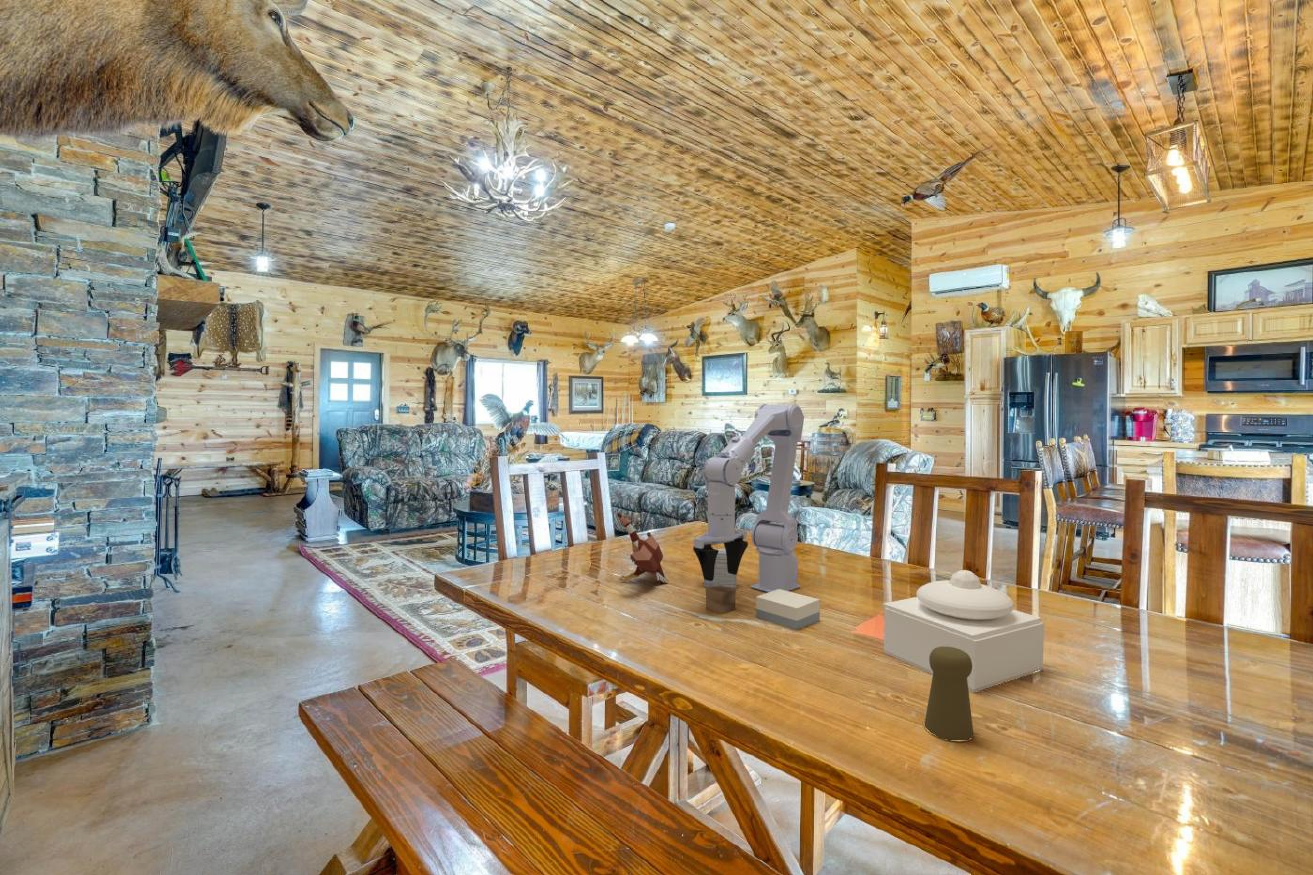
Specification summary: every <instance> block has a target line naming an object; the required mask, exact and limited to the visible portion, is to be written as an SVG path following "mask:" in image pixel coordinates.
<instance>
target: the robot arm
mask: <svg viewBox="0 0 1313 875" xmlns="http://www.w3.org/2000/svg"><path fill="white" fill-rule="evenodd" d="M804 418H805V416H804V413H803V411H802V408H801V406H799V405H798V404H797V403H792V404H766V403H763V404H761V405H759V407H758V408H757V409H756V410H755V414H754V420H753V421H752V423H751V424H750V425H749V427H747V429H746V430H745V432H744V433H743V434H742V435H737V436H733V437H732V438H731V439H730V441H729V443H728V444H727V445H726V446H725V447H724V448H723V449H722V450H721V451H720V453H719V454H717V456H716V457H715V456H712V457H710V458H709V459H707V460H706V461H705V463H704V465H703V469H702V470H701V472H702V478H703V480H704V483H705V490H706V492H707V531H705V532H704V534H702V535H699V536H697V537H694V538H693V546H692V547H693V548H692V551H693V552H694V554H695V555H696V558H697V559H698V562H699V565H700V569H701V572H702V576H703V581H704V580H708V581H713V578H714V568H715V561H716V557H717V554H718V552H719V550H716V549H717V548H714V547H713V546H715V545H719V544H723V545H724V549H725V550H726V555H727V570H728V573H730V574H734V575H737V574H738V572H739V568H740V564H741V561H742V558H743V556H744V554H745V551H746V550H747V548H748V547H749V541H747V537H748V536H747V533H748V531H747V530H746V529H735V527H736V525H735V524H736V485H737V484H738V483H739V482H740V481H741V478H742V474H743V471H744V467H745V466H746V464H747V463H748V462H749V461H750V460H751V458H753V457H754V455H755V453H756V448H755V446H756V445H757V444H758V443H759V442H761V441H762V440H763V439H764V437H766V438H767V439H768V440H770V441H771V442H773V444H774V451H773V452H774V453H773V457H772V458H773V459H772V465H771V466H772V467H771V473H770V481H769V487H768V494H767V495H768V496H767V501H766V508H765V509H764V510H763V511H762V512H759V514H757V515H756V517H755V518H756V519H755V523H754V525H753V527H752V529H751V536H750V538H751V543H752V544H753V545H754V546H755V550H756V551H758V583H755V584H751V585H750V588H752V589H756V590H759V591H761V592H762V591H763V592H765V593H768V592H771V591H774V590H777V589H782V590H785V591H789V592H791V591H793V590H796V589H798V588H801V586H802V585H801V584H798V581H799V580H798V574H799V571H798V570H799V561H798V557H797V555H796V553H795V552H794V550H795V549H796V548H797V545H798V540H799V534H798V522H797V520H796V519H795V518H794V517H793V516H792V515H791V514H790V512H789V507H790V499H791V493H792V486H793V485H792V484H793V480H794V479H793V478H794V472H795V466H796V457H797V449H798V442H800V441H802V436H803V430H804V429H803V428H804V420H805V419H804ZM777 523H778V524H777ZM745 540H746V541H745Z"/></svg>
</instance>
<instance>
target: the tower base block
mask: <svg viewBox="0 0 1313 875" xmlns="http://www.w3.org/2000/svg"><path fill="white" fill-rule="evenodd" d="M820 615H821V614H820V612H817V613H815V614H812V615H810V616H808V617H805V618H803V619H800V620H798V621H796V620H792V619H789V618H786V617H782V616H779V615H775V614H772V613H769V612H765V611H762V610H759V609H756V608H755V617H756V618H758V619H761V620H764V621H768V622H769V623H773V624H777V625H779V626H783V627H785V628H790V629H792V630H795V631H797V630H799V629H802V628H804V627H807V626H810V625H811V624H815V623H816V622H817V623H818V622H819V621H820V618H821V617H820Z"/></svg>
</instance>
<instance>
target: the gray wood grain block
mask: <svg viewBox="0 0 1313 875" xmlns="http://www.w3.org/2000/svg"><path fill="white" fill-rule="evenodd" d="M715 549H716V550H719V552H718V554H717V557H716V561H715V568H714V578H713V581H708V580H704V579H703V588H706V589H708V588H711V587H715V586H718V585H722V586H725V587H729V588H732V589H737V587H738V586H737V585H738V582H737V580H738V578H737V577H738V576H737V575H734V574H730V573H728V570H727V555H726V550H725V548H715Z"/></svg>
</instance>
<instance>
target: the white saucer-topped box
mask: <svg viewBox="0 0 1313 875" xmlns="http://www.w3.org/2000/svg"><path fill="white" fill-rule="evenodd" d="M1014 607H1015V604H1014V601H1013V600H1012V598H1011V597H1009V595H1007V594H1006V593H1004V592H1002V591H1001V590H999V589H996V588H994V587H991V586H989V585H986V584H983V583H982V584H981V580H980V577H979V576H977V575H976V574H975V573H974V572H972V571H971V570H967V569H961V570H958V571H956V572H955V573H953V574H952V575H951V577H950V580H947V579H945V580H936V581H931V582H928V583H925V584H923V585H921V586H920V587H919V588H918V589H917V591H916V596H915V597H910V598H905V599H899V600H894V601H890V602H886V603H882V608H883V609H884V628H883V630H884V631H883V632H884V635H883V636H884V637H883V654H886V655H888V656H890V657H893V658H894V659H898V660H899V661H902V662H904V663H906V664H908V665H911V666H912V665H913V667H915V668H917V669H919V668H920V669H919V670H921V669H922V671H924V672H926V673H928V672H929V674H930V673H931V675H933V671H932V669H931V667H930V663H929V656H930V653H931V652H932V650H933V649H934V648H937V647H942V646H945V647H954V648H957V649H960V650H962V651H964V652H966V653H967V654H968V655H969V657H970V658H971V662H972V671H971V674H970V675H969V676H968V677H967V682H968V690H970V691H972V692H971V693H973V692H975V693H977V692H976V691H978V692H980V691H979V690H982V691H984V690H983V689H985V688H988V689H990V688H989V687H991V686H994V685H996V684H999V683H1002V682H1006V681H1008V680H1013V679H1016V678H1019V679H1021V678H1020V677H1022V676H1025V675H1027V674H1030V673H1033V672H1035V671H1038V670H1041V669H1042V670H1043V669H1044V646H1045V645H1044V644H1045V643H1044V642H1045V641H1044V640H1045V623H1044V622H1042V617H1041V616H1036V615H1032V614H1029V613H1026V612H1022V611H1019V610H1016V609H1014ZM1025 677H1026V676H1025ZM1022 678H1023V677H1022ZM1016 680H1017V679H1016ZM1013 681H1014V680H1013ZM1006 683H1007V682H1006ZM994 687H995V686H994ZM991 688H992V687H991ZM985 690H986V689H985ZM970 691H969V692H970Z"/></svg>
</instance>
